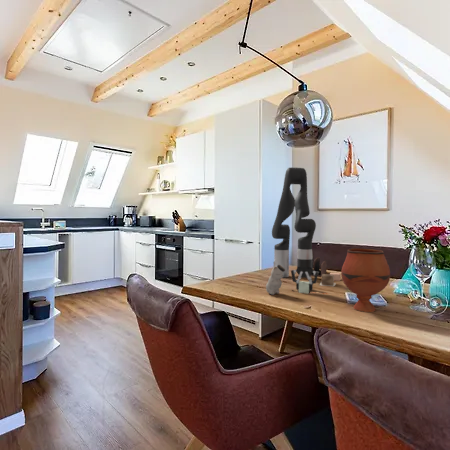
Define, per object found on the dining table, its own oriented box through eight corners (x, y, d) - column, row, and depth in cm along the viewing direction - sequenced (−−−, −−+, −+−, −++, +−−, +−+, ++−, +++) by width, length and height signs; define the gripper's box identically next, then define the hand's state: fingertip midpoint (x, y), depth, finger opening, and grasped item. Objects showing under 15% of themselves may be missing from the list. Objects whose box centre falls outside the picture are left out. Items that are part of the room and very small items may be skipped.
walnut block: (321, 284, 182) (321, 275, 182) (322, 282, 187) (322, 273, 187) (333, 285, 180) (333, 276, 179) (333, 283, 185) (333, 274, 185)
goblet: (365, 318, 127) (366, 253, 126) (330, 305, 145) (331, 248, 144) (400, 312, 135) (401, 251, 134) (363, 301, 152) (364, 247, 152)
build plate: (301, 287, 180) (301, 285, 180) (305, 282, 195) (305, 280, 195) (340, 291, 173) (340, 288, 173) (341, 284, 187) (341, 282, 187)
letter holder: (305, 276, 215) (305, 254, 215) (311, 271, 233) (312, 251, 232) (321, 277, 211) (321, 255, 210) (326, 272, 229) (326, 252, 228)
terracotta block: (331, 282, 194) (331, 274, 194) (329, 281, 199) (330, 272, 199) (340, 282, 194) (340, 274, 193) (338, 281, 199) (338, 272, 198)
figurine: (273, 297, 160) (274, 266, 159) (262, 292, 169) (262, 263, 168) (288, 295, 164) (288, 264, 163) (276, 291, 173) (276, 262, 172)
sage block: (298, 292, 169) (298, 283, 169) (300, 290, 174) (300, 281, 174) (308, 293, 167) (308, 283, 167) (310, 291, 172) (310, 282, 172)
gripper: (289, 258, 169) (289, 291, 170) (318, 259, 164) (318, 293, 164) (291, 256, 176) (291, 288, 177) (320, 257, 171) (319, 290, 171)
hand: (304, 290), depth 171 cm, fingers open, 5 cm apart
